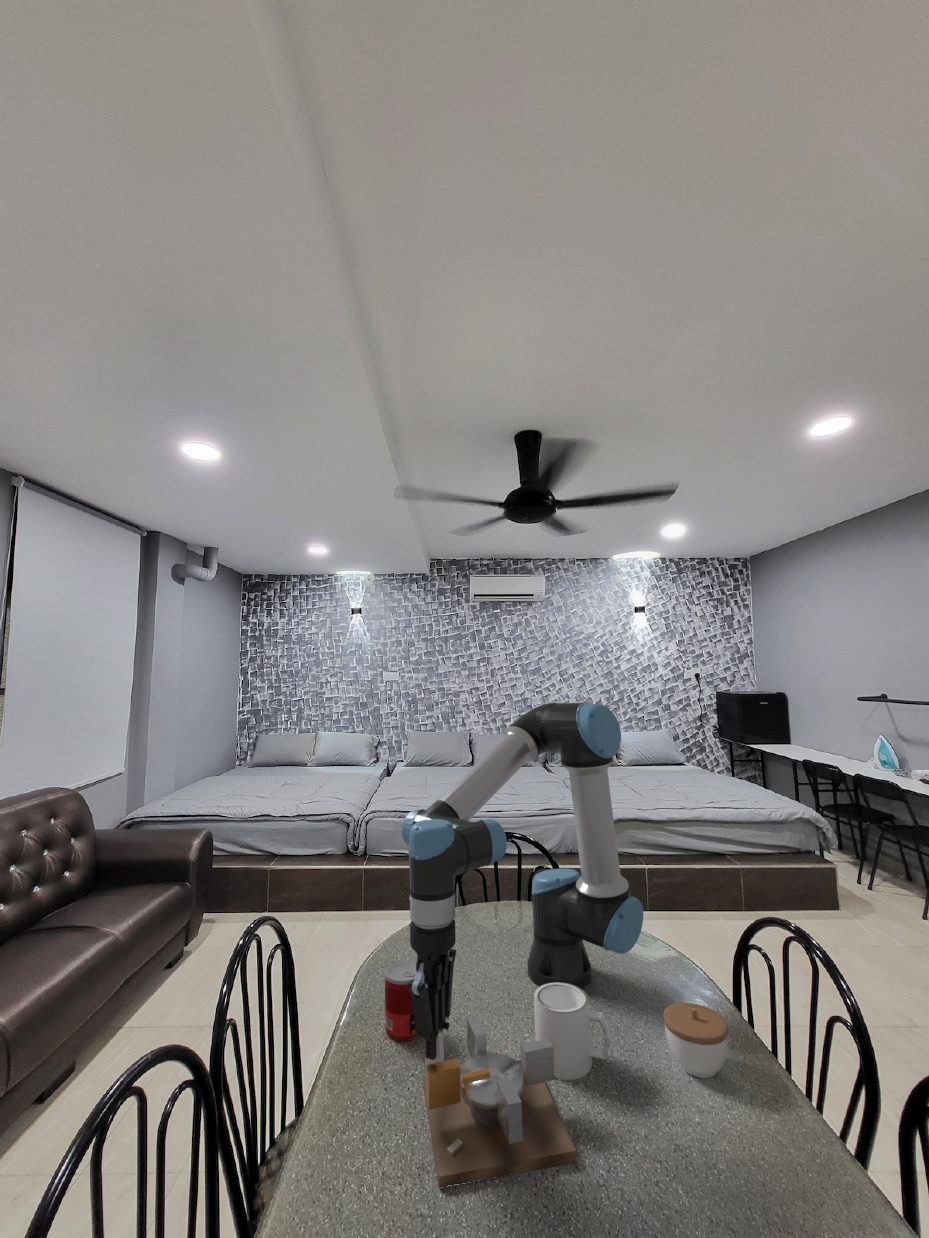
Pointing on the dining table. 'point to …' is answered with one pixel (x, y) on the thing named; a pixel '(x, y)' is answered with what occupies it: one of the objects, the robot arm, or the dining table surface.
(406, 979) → the canned food
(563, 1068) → the mug
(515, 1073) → the silver spoked hub
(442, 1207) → the dining table surface
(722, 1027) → the lidded jar
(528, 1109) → the wooden base plate
